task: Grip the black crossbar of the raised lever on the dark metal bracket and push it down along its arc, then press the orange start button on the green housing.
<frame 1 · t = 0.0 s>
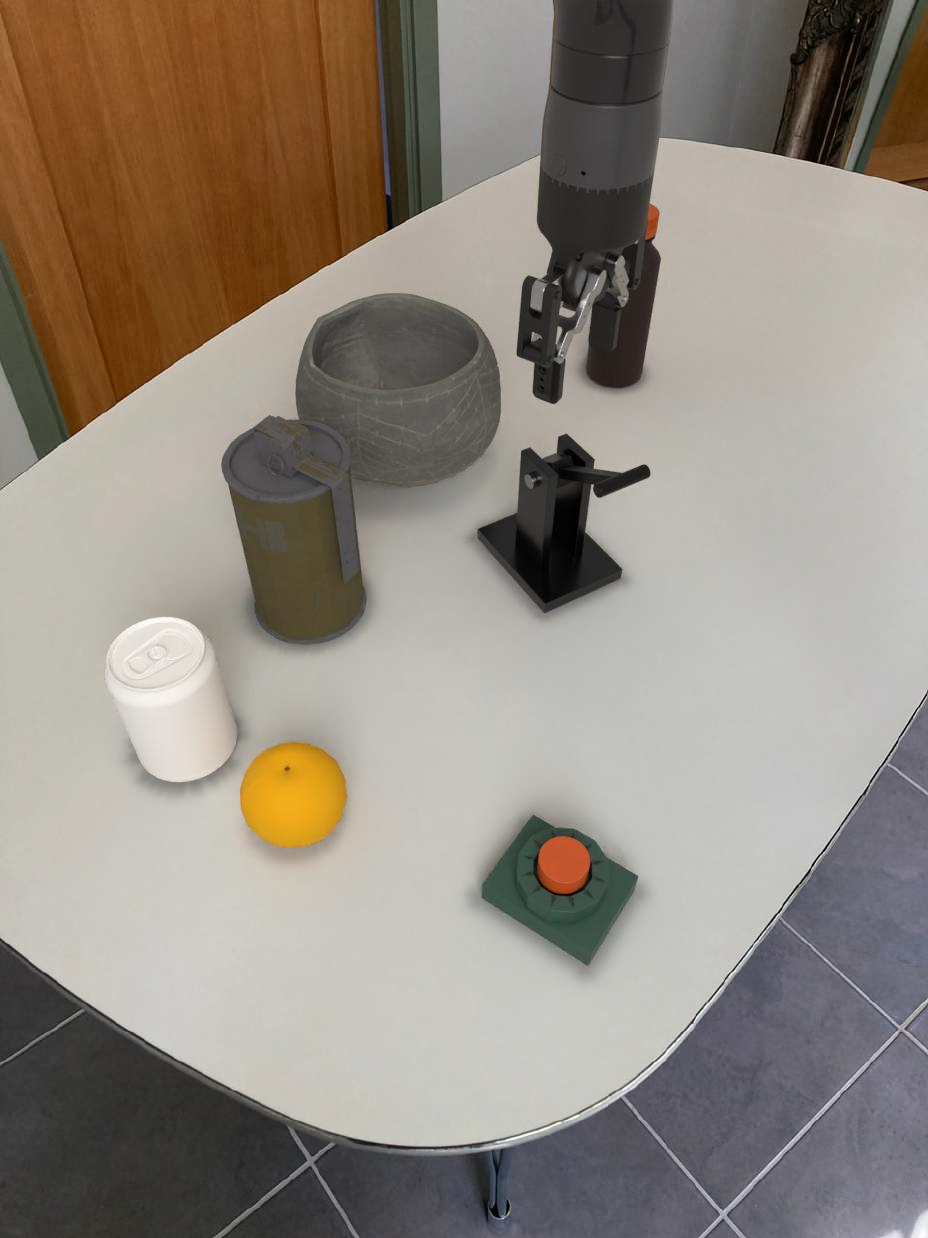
hand: (575, 372, 75), 24 cm above the table, tool pointing down, fingers open, 8 cm apart
button box: (558, 894, 71), on the table
orange: (299, 818, 75), on the table
beverage can: (190, 746, 79), on the table
canister: (313, 605, 90), on the table
bracket: (547, 557, 94), on the table
bottle: (613, 374, 116), on the table
button: (563, 865, 67), point 4 cm above the table, slide at 0.1 cm
bowl: (402, 461, 105), on the table
lever: (584, 475, 82), point 13 cm above the table, hinge at 30.0°
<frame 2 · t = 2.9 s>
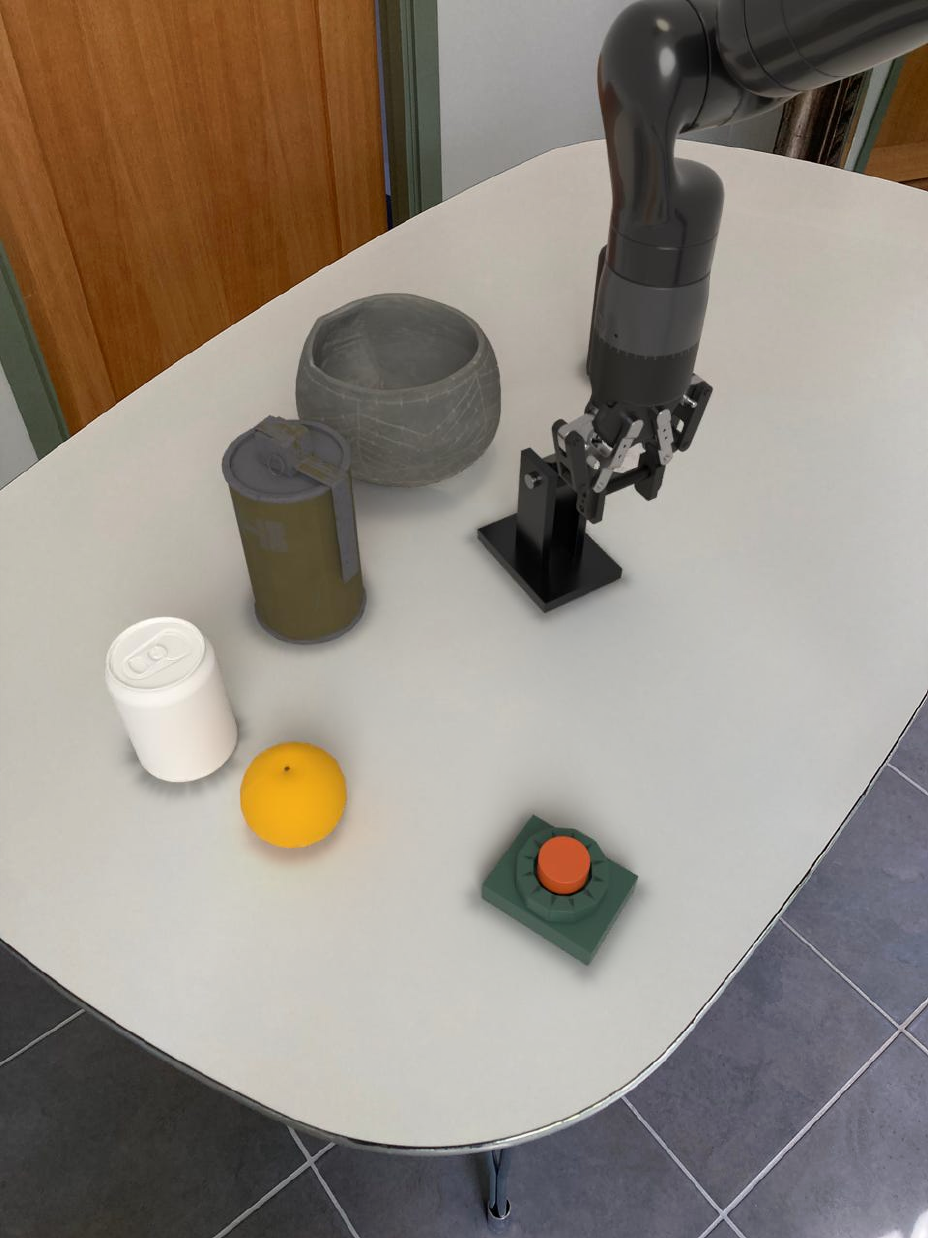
hand: (618, 504, 79), 13 cm above the table, tool pointing down, fingers closed on lever, 5 cm apart
lever: (584, 475, 82), point 13 cm above the table, hinge at 30.0°, touching gripper
everything else where it was.
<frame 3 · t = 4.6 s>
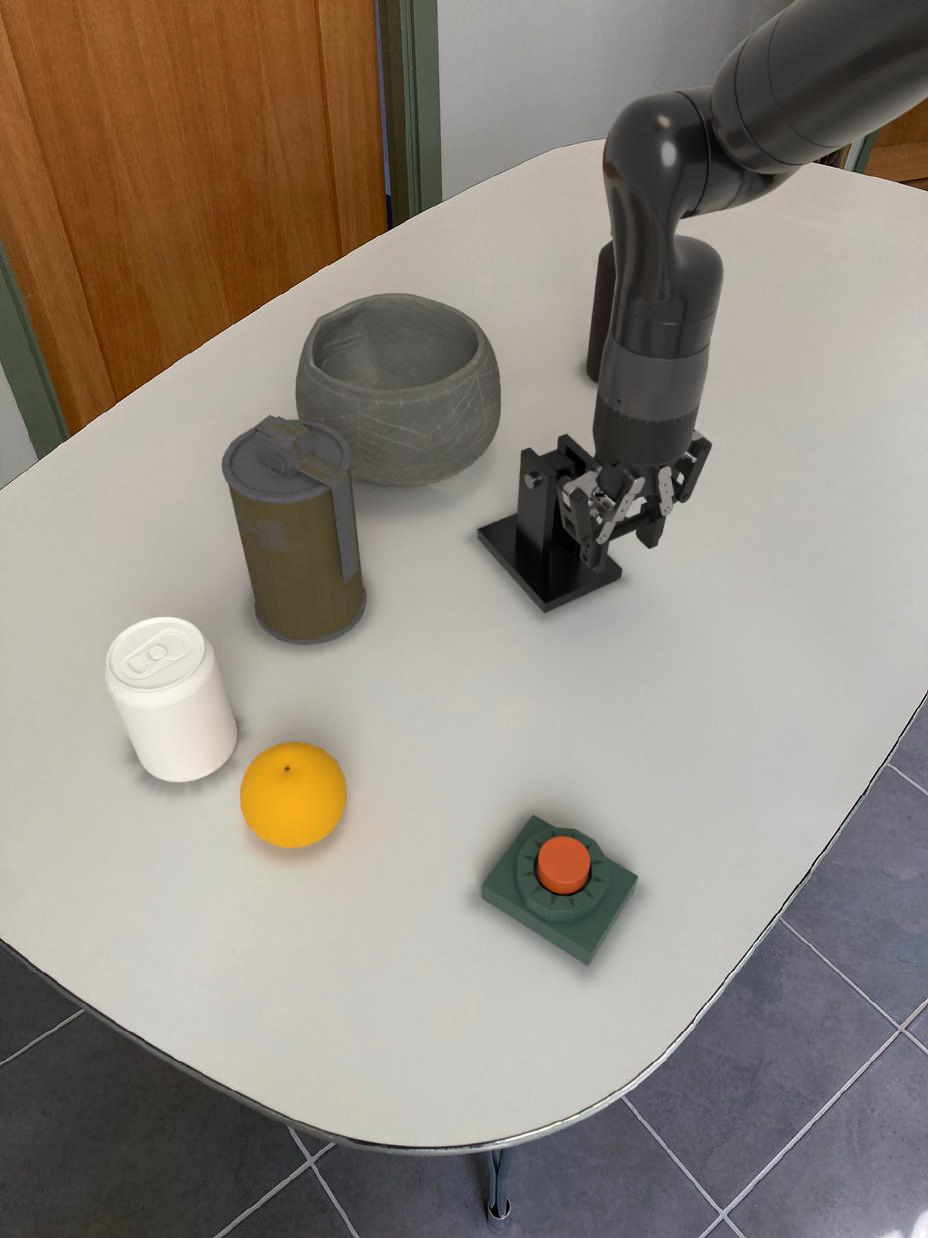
hand: (620, 553, 82), 9 cm above the table, tool pointing down, fingers closed on lever, 5 cm apart
lever: (586, 495, 83), point 11 cm above the table, hinge at 5.6°, touching gripper
everything else where it was.
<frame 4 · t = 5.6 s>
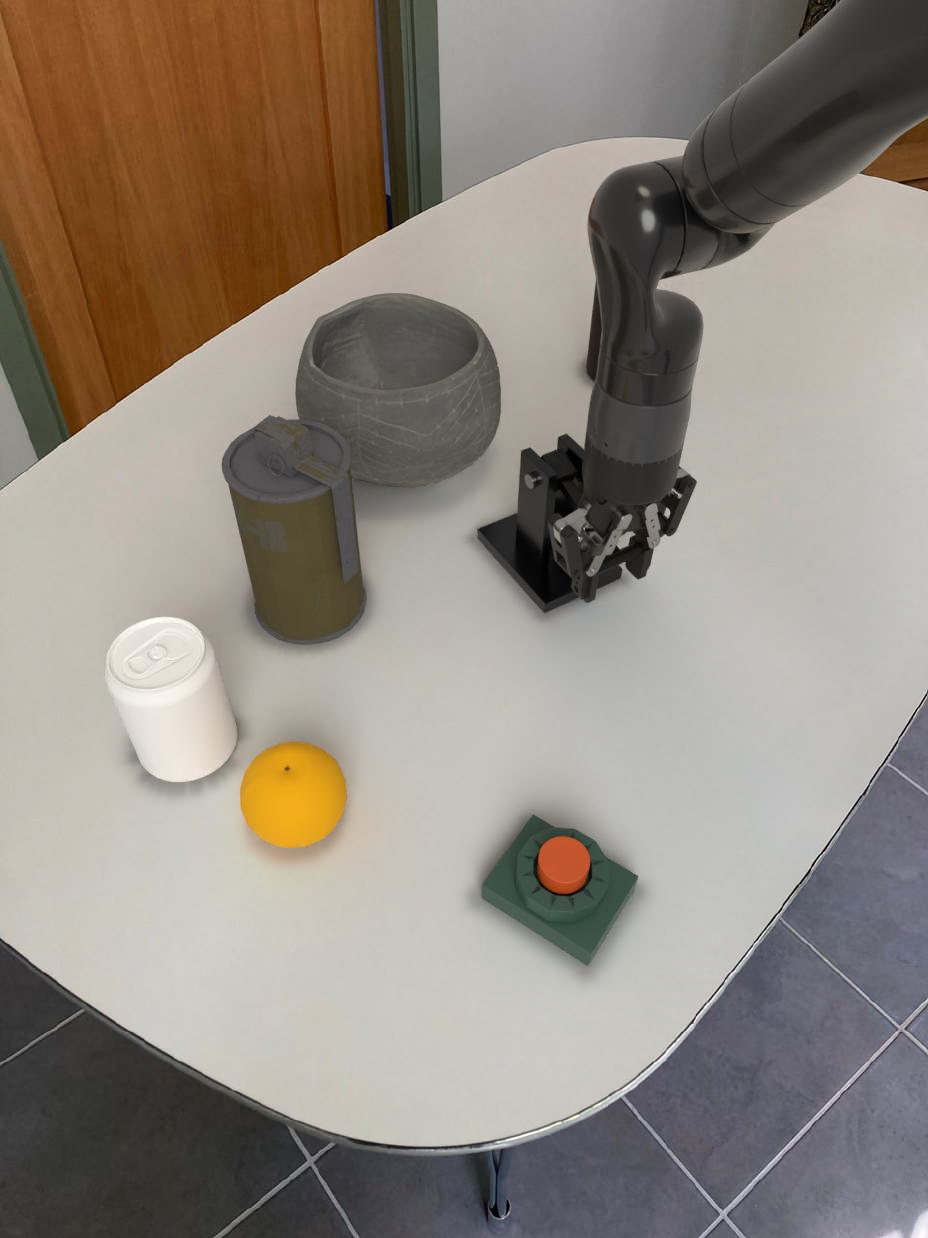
hand: (610, 583, 86), 5 cm above the table, tool pointing down, fingers closed on lever, 5 cm apart
lever: (583, 510, 85), point 10 cm above the table, hinge at -18.0°, touching gripper
everything else where it was.
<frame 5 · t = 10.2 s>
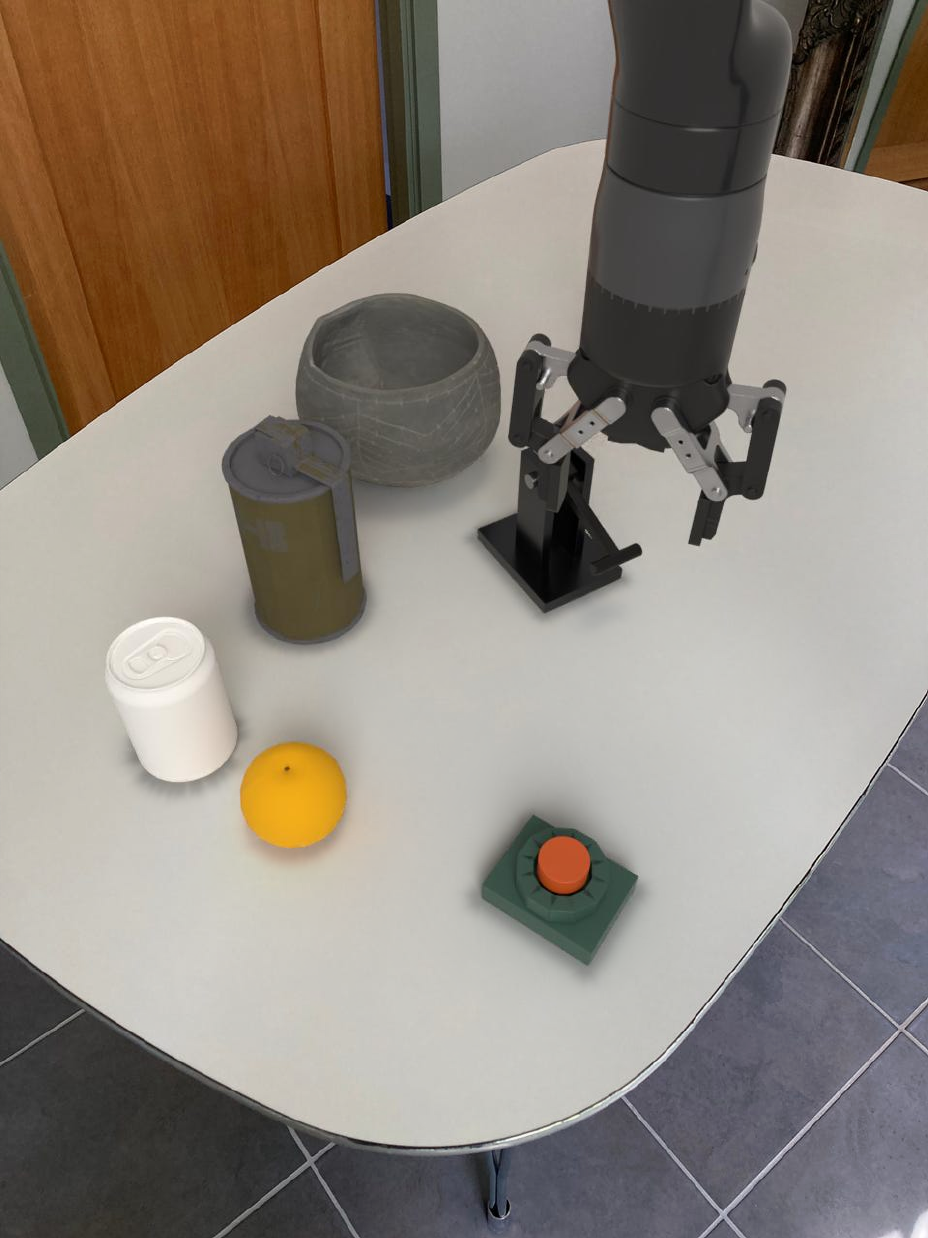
hand: (625, 519, 57), 28 cm above the table, tool pointing down, fingers open, 8 cm apart
lever: (583, 510, 85), point 10 cm above the table, hinge at -18.8°
everything else where it was.
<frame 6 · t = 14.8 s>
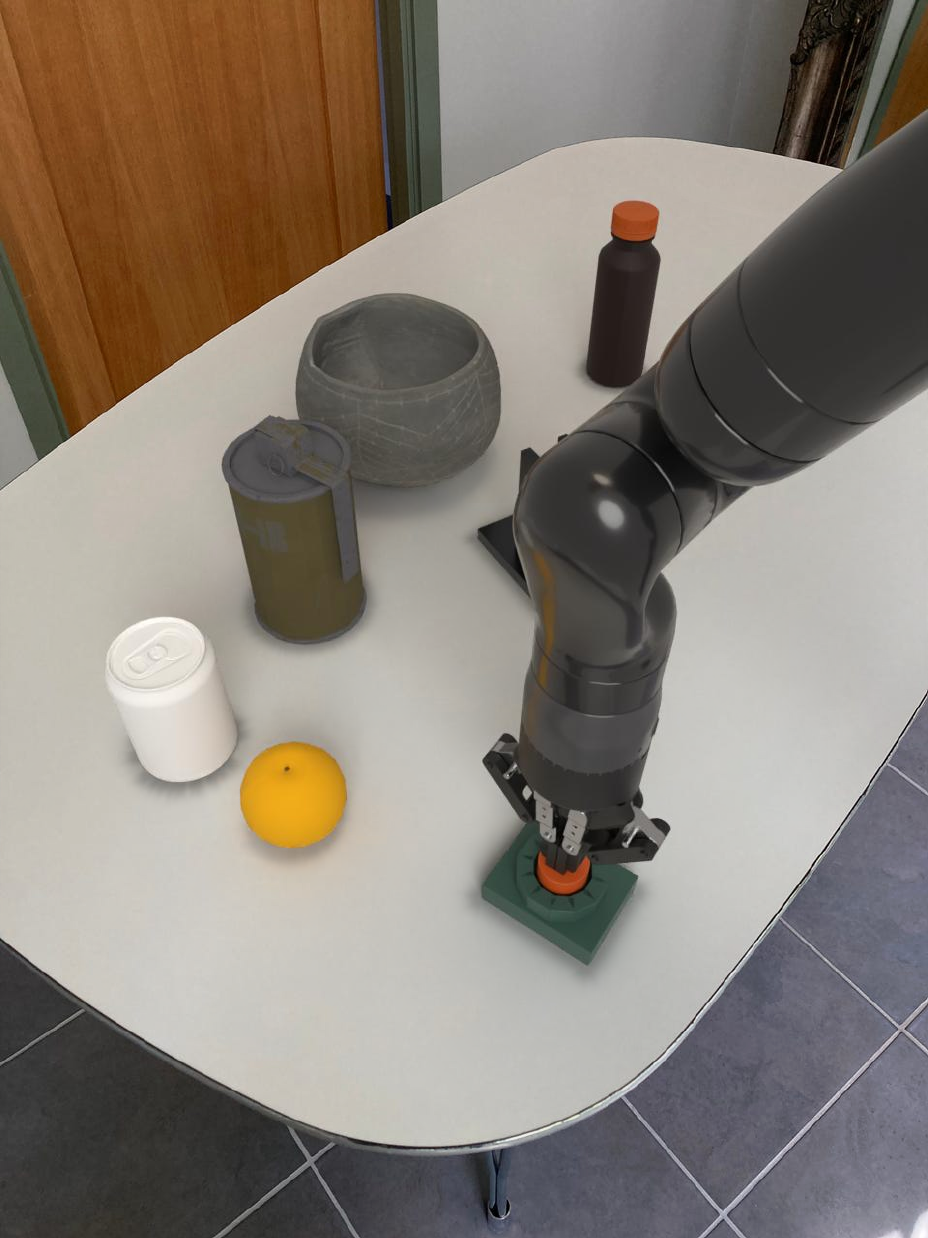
hand: (562, 860, 67), 5 cm above the table, tool pointing down, fingers closed
button: (563, 866, 67), point 4 cm above the table, slide at -0.1 cm, touching gripper
everything else where it was.
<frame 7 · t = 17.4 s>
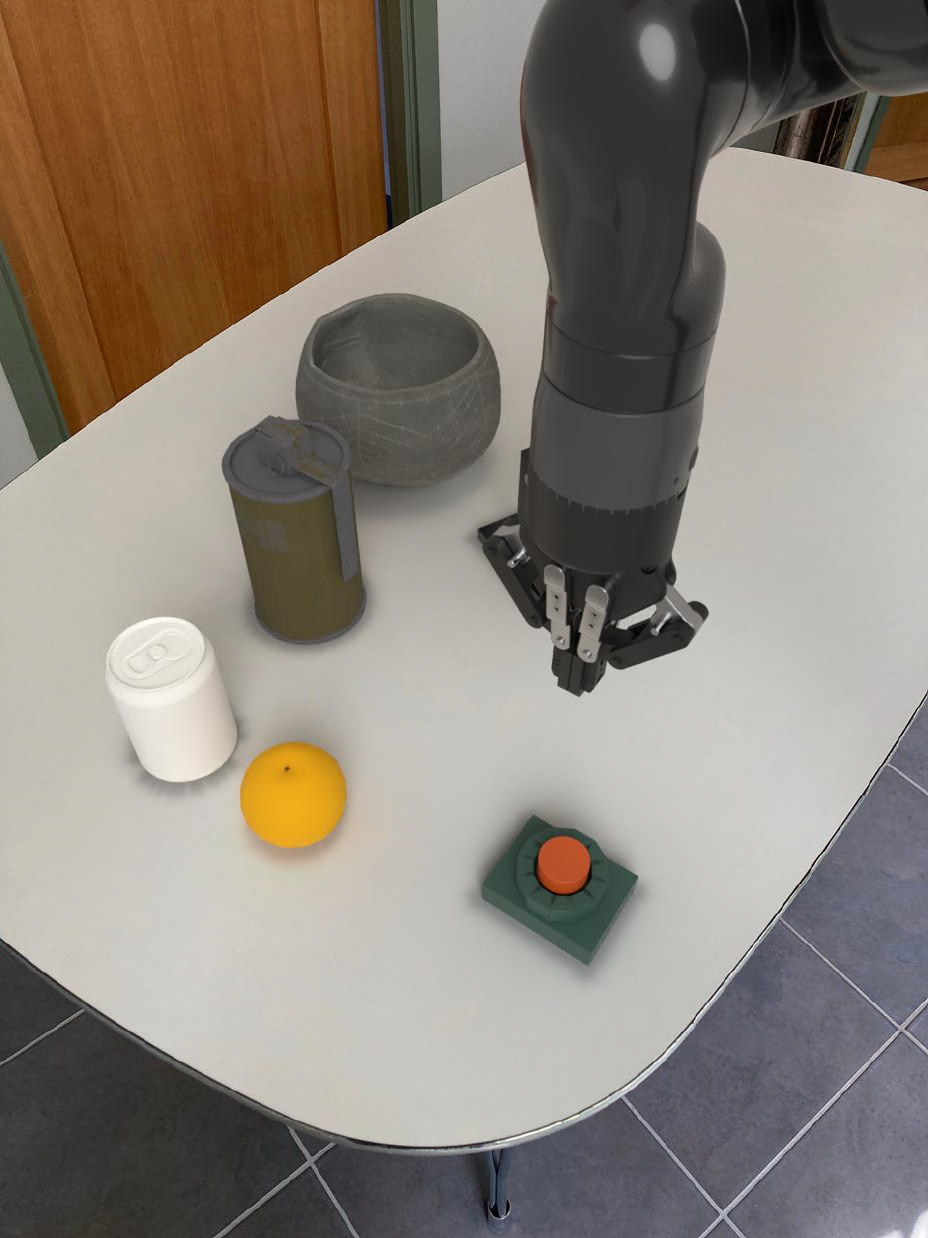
hand: (576, 682, 57), 21 cm above the table, tool pointing down, fingers closed
button: (563, 865, 67), point 4 cm above the table, slide at 0.1 cm
everything else where it was.
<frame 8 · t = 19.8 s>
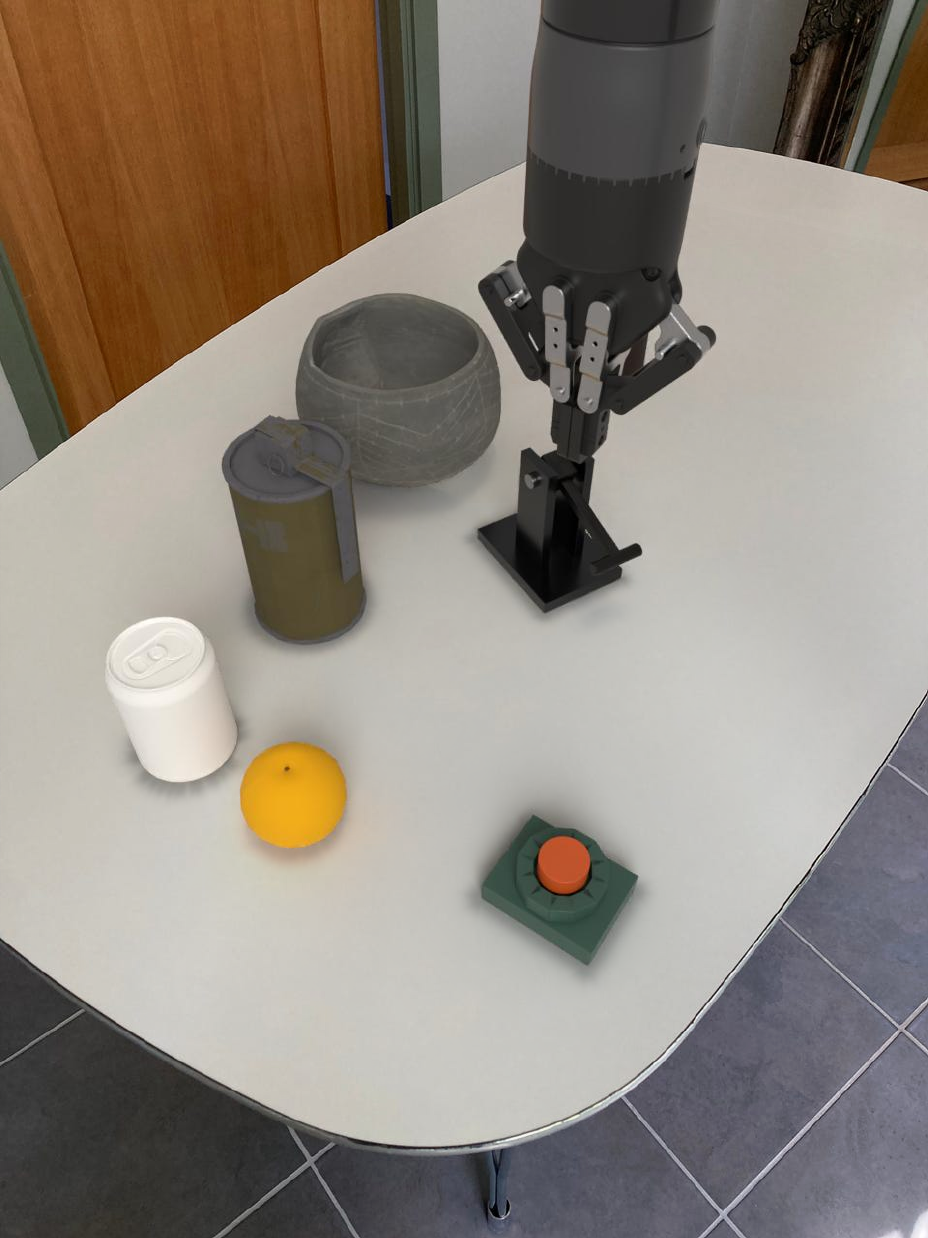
hand: (577, 452, 54), 32 cm above the table, tool pointing down, fingers closed
nothing on the table moved.
at the end: lever at -19° (first picture: +30°); button pushed in 1.1 cm at the most during the clip, back to where it started at the end; button slide at 0.1 cm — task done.
